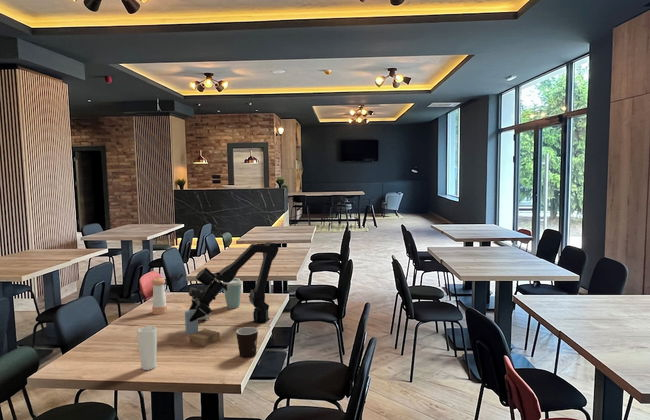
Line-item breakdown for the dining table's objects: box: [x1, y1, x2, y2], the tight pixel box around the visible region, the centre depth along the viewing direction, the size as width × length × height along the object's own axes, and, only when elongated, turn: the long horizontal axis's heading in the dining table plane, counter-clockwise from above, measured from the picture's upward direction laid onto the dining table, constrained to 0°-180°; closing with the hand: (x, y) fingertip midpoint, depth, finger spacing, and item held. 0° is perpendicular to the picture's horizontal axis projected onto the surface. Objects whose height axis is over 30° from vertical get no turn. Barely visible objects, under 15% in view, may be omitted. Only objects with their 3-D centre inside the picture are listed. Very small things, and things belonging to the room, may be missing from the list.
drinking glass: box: [137, 325, 158, 371], centre depth 166 cm, size 7×7×15 cm
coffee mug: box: [235, 326, 259, 359], centre depth 178 cm, size 12×9×10 cm
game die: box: [198, 309, 213, 322], centre depth 221 cm, size 9×8×10 cm
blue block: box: [184, 309, 199, 336], centre depth 203 cm, size 5×5×10 cm
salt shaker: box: [150, 276, 168, 315], centre depth 234 cm, size 7×7×19 cm
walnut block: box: [188, 328, 221, 348], centre depth 192 cm, size 9×9×4 cm
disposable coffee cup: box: [222, 277, 243, 309], centre depth 242 cm, size 11×11×15 cm
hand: (188, 318), depth 203 cm, fingers open, 9 cm apart
